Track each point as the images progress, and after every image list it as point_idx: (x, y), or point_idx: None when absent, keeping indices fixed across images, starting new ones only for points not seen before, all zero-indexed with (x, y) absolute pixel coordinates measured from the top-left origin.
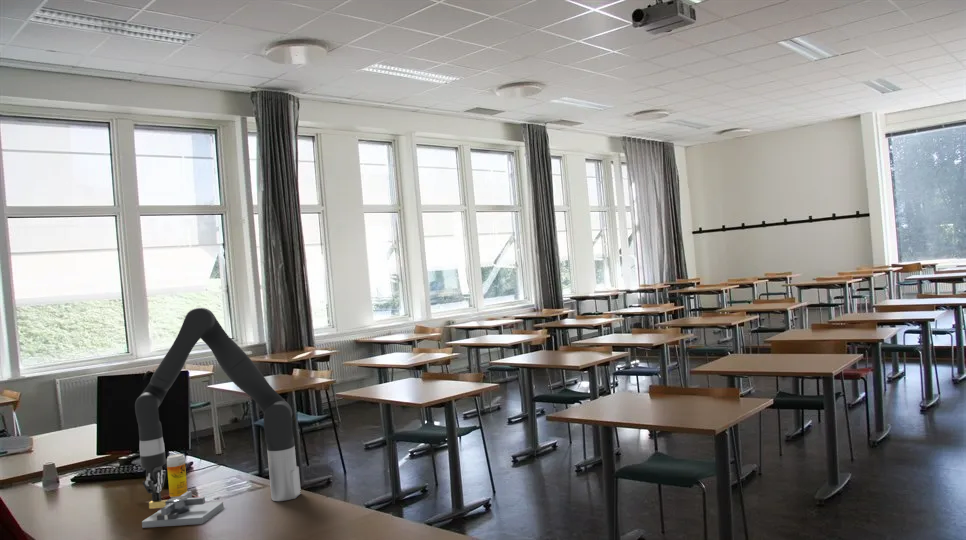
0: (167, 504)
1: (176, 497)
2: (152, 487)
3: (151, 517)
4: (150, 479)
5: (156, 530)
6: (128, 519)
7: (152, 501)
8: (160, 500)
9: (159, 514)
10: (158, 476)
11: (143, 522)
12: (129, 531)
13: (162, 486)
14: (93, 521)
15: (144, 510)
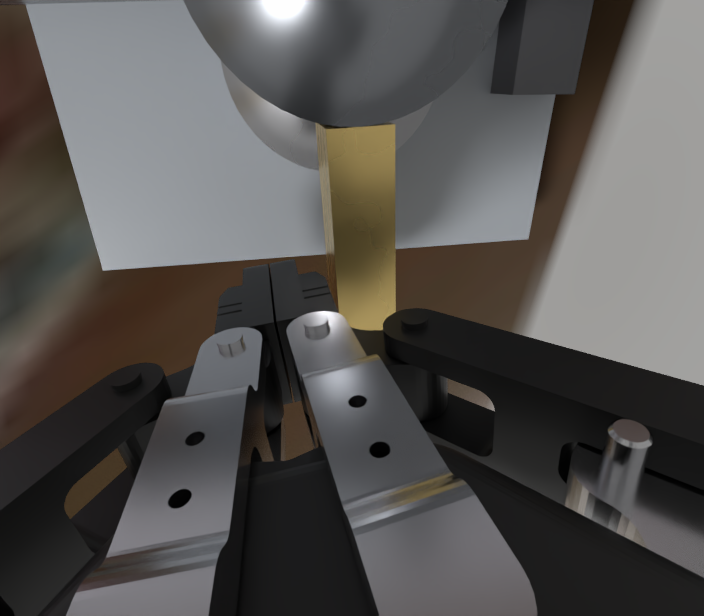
0: (489, 25)
1: (225, 19)
2: (576, 352)
3: (444, 212)
4: (657, 528)
5: (613, 40)
6: (293, 441)
7: (357, 316)
8: (338, 230)
9: (537, 88)
10: (456, 503)
11: (525, 223)
12: (544, 278)
13: (146, 374)
14: None
15: (102, 460)
